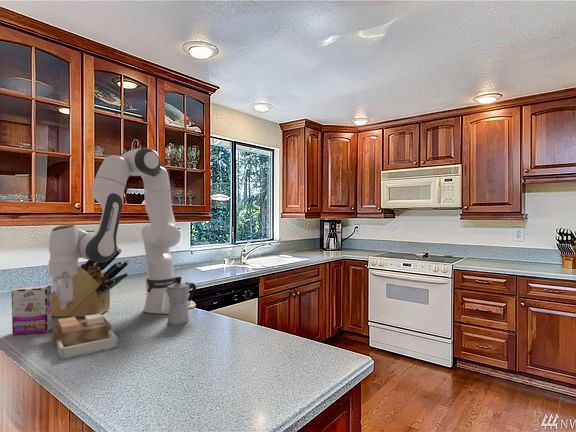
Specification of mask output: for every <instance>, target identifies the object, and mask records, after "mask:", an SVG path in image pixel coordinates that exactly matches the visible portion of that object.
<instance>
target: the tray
mask: <svg viewBox="0 0 576 432" xmlns="http://www.w3.org/2000/svg"><path fill="white" fill-rule="evenodd" d="M114 347H117V348H119V338H118V336H117V335H116V334H115V333H114V332H113V330H112V329H111V330H109V331H108V338H106V339H102V340H97V341H92V342H87V343H82V344H77V345H72V346H67V347H63V344H62V342H61V340H57V349H56V353H57V354H58V357H59V359H60V361H62V360H66V359H71V358H76V357H80V356H84V355H89V354H94V353H98V352H97V351H99V352H102V351H101V350H104V351H107V350H106V349H108V350H111V349H110V348H113V349H115V348H114ZM93 352H94V353H93Z"/></svg>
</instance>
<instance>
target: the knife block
mask: <svg viewBox="0 0 576 432" xmlns="http://www.w3.org/2000/svg"><path fill="white" fill-rule="evenodd" d="M121 253H122V249H121V248H119V247H118V246H117V249H116V252H115V255H114V256H113V257H112V258H111V259H110V260H109V261H107V262H104V263H98V262H95V261H92V260H88V259H87V261H86V262H85V263H82V264H80V265H78V268H77V275H74V276H73V279H72V283H73V298H72V300H71V301H67V303H66V309H63V310H61V309H60V307H59V298H58V296H57V294H56V293H55V291H54V290H53V291H51V308H52V317H66V318H69V317H75V318H76V317H79V318H80V317H83V318H85V316H88V315H94V314H101V315H102V314H104V313H106V312H108V311H109V310H110V309H111V308H110V306H111V305H110V301H111V300H110V299H111V296H110V295H111V289H112V288H114V287H115V286H116V285H119V283H120V282H121V281H123V280H124V279H126V278H127V277H128V274H129V273H123V274H120V275H118V274H119V273H120V272H121V271H123V270H124V269H125V268H126V267H127V266H128V265H129V264H130V262H129V261H128V260H125V261H124V262H122V261H119V262H115V263H114V264H112V265H111V266H110V267H108V266H109V265H110V264H111V263H112V262H114V260H116V258H118V257H119V255H120V254H121ZM107 267H108V269H107V270H106V271H104V270H105V269H106V268H107ZM117 275H118V276H117Z"/></svg>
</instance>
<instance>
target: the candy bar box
mask: <svg viewBox="0 0 576 432" xmlns="http://www.w3.org/2000/svg"><path fill="white" fill-rule="evenodd" d="M51 293H52V286H51V285H38V286H23V287H22V286H21V287H16V288H14V289H12V290H11V317H12V318H11V319H12V320H11V326H12V331H11V333H12V336H21V335H32V334H33V335H34V334H44V333H45V334H47V333H49V332H50V330H53V322H52V321H53V319H52V318H53V316H52V308H51Z"/></svg>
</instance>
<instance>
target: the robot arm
mask: <svg viewBox="0 0 576 432" xmlns="http://www.w3.org/2000/svg"><path fill="white" fill-rule="evenodd" d="M129 177H141V179H142V181H143V182H142V183H143V193H144V194H143V195H144V196H143V197H144V208H145V212H146V214H147V216H148V219H149V220H148V221H149V223H147V224H145V225H144V226H143V227H142V229H141V232H140V233H141V238H142V241H143V245H144V251H145V257H146V267H147V268H146V272H147V273H146V279H145V280H146V281H145V290H146V296H145V301H144V307H143V312H145V313H147V314H148V313H149V314H163V315H169V309H170V305H171V303H170V302H169V296H168V294H167V292H166V291H165V289H167V286H169V285H172V284H175V283H176V277H177V276H174V259H173V256H172V254H171V249H170V248H173V247H175V246H176V245H178V244H179V243H180V240H181V231H180V229H179V227H178V226H177V223H176V219H175V214H174V211H173V206H172V193H171V182H170V177H169V173H168V170H167V169H166V168H165V167H163V163H162V161H161V156H160V155H159V153H158V152H157V151H156V150H154V149H152V148H149V147H142V148H133V149H131V150H129V151H124V152H122V153H121V154H119V155H108V156H106V157H105V158H104V160H103V161H102V163H101V164H100V166H99V168H98V171H97V173H96V175H95V178H94V180H93V184H92V191H91V194H92V196H93V198H94V199H95V201H96V202H97V203H99V204H100V206H101V209H102V212H101V216H100V221H99V224H98V225H99V226H98V230H97V232H96V233H91V232H87V231H85V230H83V229H81V228H78V227H77V226H76V225H74V224H63V225H59V226H56V227H55V226H54V227H53V229H52V230H51V231H50V234H49V239H48V240H49V241H48V242H49V243H48V252H49V255H50V257H49V260H48V277H51V278H52V286H53V289H54V290H53V291H55V293H56V294H57V296H58V298H59V307H60V309H61V310H63V309H66V303H67V301H71V300H72V298H73V283H72V279H73V276H74V275H77V268H78V266H79V265H78V264H79V263H78V262H79V259H80V258H82V259H84V260H87V261H88V260H92V261H95V262H98V263H104V262H107V261H109V260H110V259H111V258H112V257H113V256H114V255H115V252H116V249H117V247H118V245H117V234H118V228H119V225H120V220H121V214H122V212H123V211H122V210H123V209H122V208H123V195H124V191H125V188H126V185H127V182H128V179H129ZM189 295H190V294H189ZM189 295H188V298H189ZM186 304H187V308H188V310H190V309H194V308H196V305H197V304H196V302H195V301H193V300H191V301H187V302H186Z"/></svg>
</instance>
